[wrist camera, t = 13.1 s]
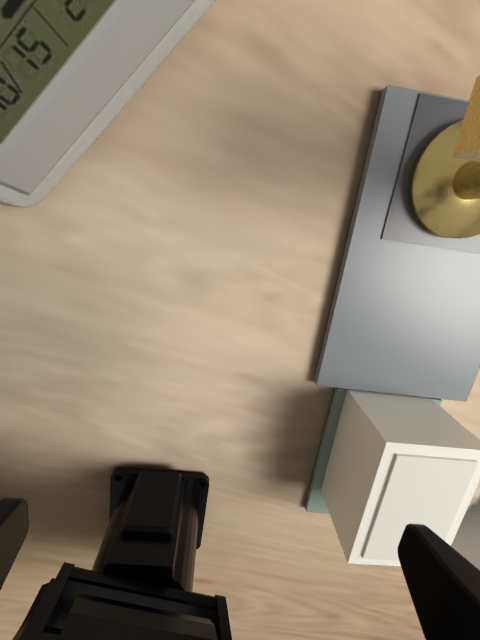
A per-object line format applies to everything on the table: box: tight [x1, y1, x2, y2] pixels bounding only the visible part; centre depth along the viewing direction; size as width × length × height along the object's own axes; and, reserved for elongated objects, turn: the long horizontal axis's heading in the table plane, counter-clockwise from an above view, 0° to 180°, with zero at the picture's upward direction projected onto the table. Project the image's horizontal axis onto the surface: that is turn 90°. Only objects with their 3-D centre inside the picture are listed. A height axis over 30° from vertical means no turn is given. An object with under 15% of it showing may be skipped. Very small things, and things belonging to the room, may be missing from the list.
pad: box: [305, 388, 442, 513], centre depth 22 cm, size 10×7×1 cm
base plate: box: [314, 85, 480, 401], centre depth 18 cm, size 16×10×1 cm, turn 172°
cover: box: [321, 389, 480, 566], centre depth 19 cm, size 8×6×5 cm
